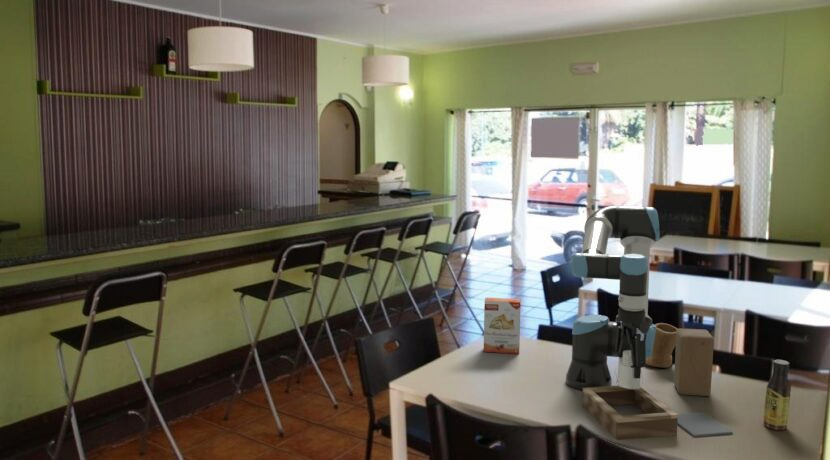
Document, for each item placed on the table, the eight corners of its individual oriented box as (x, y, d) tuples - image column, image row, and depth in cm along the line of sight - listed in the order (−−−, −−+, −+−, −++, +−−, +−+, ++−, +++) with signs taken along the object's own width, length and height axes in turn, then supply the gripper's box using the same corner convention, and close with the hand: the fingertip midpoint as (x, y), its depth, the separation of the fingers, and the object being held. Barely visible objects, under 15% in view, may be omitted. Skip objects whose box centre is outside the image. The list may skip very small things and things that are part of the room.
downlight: (612, 387, 199) (615, 354, 197) (615, 378, 205) (618, 347, 204) (641, 391, 196) (644, 359, 194) (643, 383, 203) (646, 351, 201)
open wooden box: (582, 406, 212) (582, 387, 211) (635, 402, 215) (636, 384, 214) (617, 439, 189) (618, 419, 188) (676, 434, 192) (677, 414, 191)
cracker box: (483, 352, 265) (483, 300, 262) (484, 348, 271) (484, 296, 268) (519, 354, 262) (520, 301, 259) (519, 349, 268) (520, 298, 265)
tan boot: (676, 372, 243) (678, 331, 240) (641, 367, 247) (643, 327, 245) (678, 359, 256) (680, 320, 254) (645, 355, 261) (647, 317, 259)
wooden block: (711, 397, 219) (714, 337, 216) (678, 395, 221) (681, 335, 218) (704, 386, 229) (707, 328, 226) (673, 384, 231) (676, 327, 228)
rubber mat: (667, 416, 204) (667, 414, 204) (703, 413, 206) (704, 412, 206) (693, 436, 190) (693, 434, 190) (732, 433, 192) (732, 431, 192)
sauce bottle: (758, 422, 200) (763, 357, 197) (778, 421, 200) (783, 357, 198) (771, 432, 193) (776, 365, 191) (792, 431, 194) (797, 364, 191)
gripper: (604, 299, 206) (602, 371, 210) (636, 317, 187) (633, 396, 190) (627, 298, 208) (624, 370, 211) (661, 316, 188) (657, 395, 192)
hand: (628, 382), depth 201 cm, fingers closed on downlight, 7 cm apart
